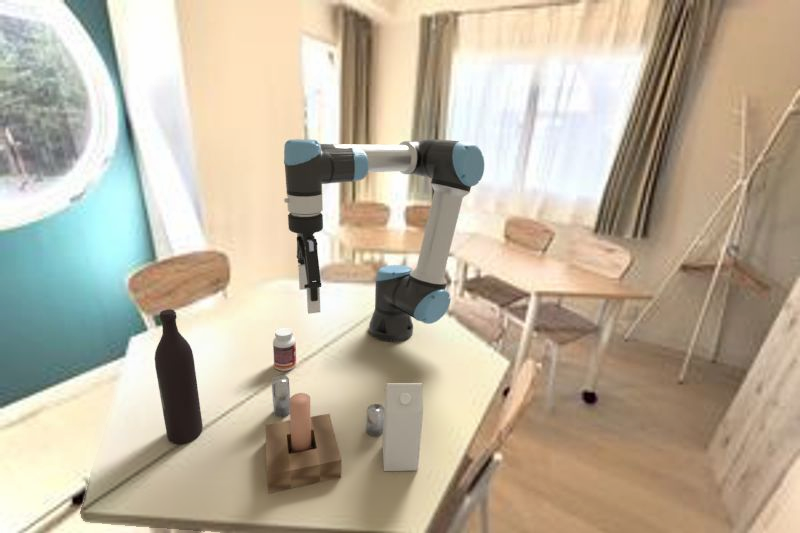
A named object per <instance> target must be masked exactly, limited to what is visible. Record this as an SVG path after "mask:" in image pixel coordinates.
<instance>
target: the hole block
mask: <svg viewBox="0 0 800 533" xmlns="http://www.w3.org/2000/svg"><path fill="white" fill-rule="evenodd" d="M264 428H265V431H264V432H265V453H266V454H265V456H266V457H265V458H266V474H267V475H266V477H267V479H266V480H267V493H268V494H271V493H272V494H273V493H275V492H280V491H281V492H282V491H284V490H285V491H286V490H290V489H294V488H298V487H303V486H309V485H312V484H317V483H322V482H325V481H330V480H334V479H339V478H342V458H341V454H340V449H339V446H338V442H337V438H336V433H335V430H334V426H333V422H332V417H331V413H325V414H319V415H315V416H313V415H312V416H311V450H307V451H302V452H297V453H292V446H291V422H290V420H284V421H279V422H272V423H267V424H266V423H265V425H264ZM312 447H313V449H312ZM289 452H291V453H289Z"/></svg>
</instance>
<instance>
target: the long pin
mask: <svg viewBox="0 0 800 533" xmlns="http://www.w3.org/2000/svg"><path fill="white" fill-rule="evenodd" d="M311 417H312V416H311V397H310V395H309V394H308V393H305V392H298V393H295V394H292V395H291V396H290V414H289V419H290V422H291V446H292V450H291V454H292V453H297V452H302V451H307V450H312V447H311Z"/></svg>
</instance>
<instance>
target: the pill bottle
mask: <svg viewBox="0 0 800 533" xmlns="http://www.w3.org/2000/svg"><path fill="white" fill-rule="evenodd" d="M293 335H294V334H293V329H291V328H290V327H289V328H288V327H282V328H281V327H280V328H278V329H276V330H275V331H274V336H275V337H274V339H273V341H272V347H273V348H272V350H273V351H272V352H273V365H274V366H273V367H274V368H275V369H276V370H278V371H281V372H286V371H290V370H292V369H293V370H294V368H296V365H297V349H296V347H297V346H296V344H297V341H296V338H295V337H294V336H293Z"/></svg>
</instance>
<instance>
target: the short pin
mask: <svg viewBox="0 0 800 533" xmlns="http://www.w3.org/2000/svg"><path fill="white" fill-rule="evenodd" d="M365 420H366V423H365V425H366V426H365V432H366V435H368V436H370V437H371V438H375V437H380V436H383V422H384V406H383V405H382V404H381V403H372V404H371V403H370V405H368V406H367V408H366V419H365Z"/></svg>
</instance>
